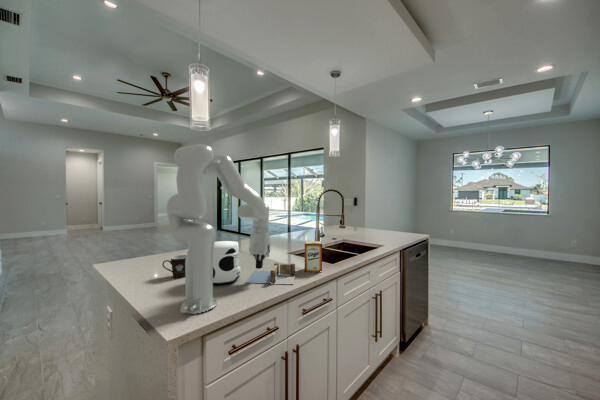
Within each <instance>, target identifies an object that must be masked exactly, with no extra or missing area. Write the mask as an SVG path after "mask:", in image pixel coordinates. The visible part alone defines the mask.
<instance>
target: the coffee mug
mask: <svg viewBox="0 0 600 400" xmlns="http://www.w3.org/2000/svg"><path fill="white" fill-rule="evenodd" d="M186 255H187V254H178V255H177V254H176V255H173V256H171V257H170V260H169V259H167V260H164V261H163V262H162V264H161V265H162V267H163V268H164V269H165V270H167V271H169V272H171V273H172V277H173V279H175V280H176V279H178V280H179V279H184V278H185V260H186ZM166 262H168V263H169V264H170V265H171V269H172V270H171V269H169V268H167V267H166V266H165V263H166Z"/></svg>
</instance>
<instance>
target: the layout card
mask: <svg viewBox="0 0 600 400" xmlns="http://www.w3.org/2000/svg"><path fill="white" fill-rule="evenodd" d="M270 272H271V270H270V271H269V270H266V271H265V270H253V271H252V273H251V274H250V275H249V277H248V278H247V279H246V280H245V282H244V284H247V283H270ZM295 275H296V276H297V271H295ZM295 275H294V276H295ZM294 276H291V275H290V274H280V271H279V275H277V276H276V280H277V279H278V280H279V279H284V278H287V277H294ZM296 276H295V277H296Z"/></svg>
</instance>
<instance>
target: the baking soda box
mask: <svg viewBox="0 0 600 400" xmlns="http://www.w3.org/2000/svg"><path fill="white" fill-rule="evenodd" d="M305 271H306V272H305ZM320 271H322V272H323V242H322V241H309V240H308V241H307V240H306V241H304V272H305V273H321V272H320Z"/></svg>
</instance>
